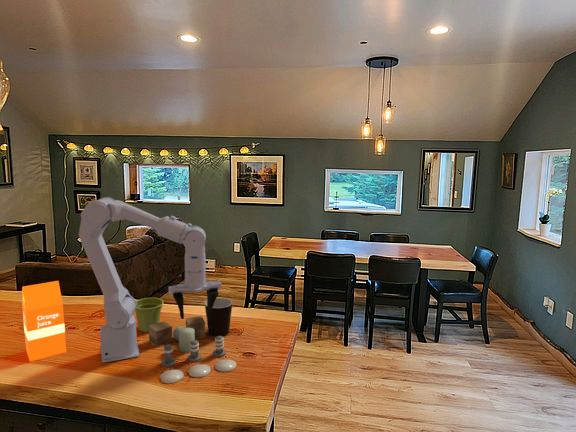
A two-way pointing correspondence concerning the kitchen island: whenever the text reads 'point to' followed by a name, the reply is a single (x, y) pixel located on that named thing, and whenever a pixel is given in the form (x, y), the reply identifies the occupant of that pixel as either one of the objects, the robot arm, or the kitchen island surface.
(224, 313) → the coffee mug
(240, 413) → the kitchen island surface
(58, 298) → the orange juice
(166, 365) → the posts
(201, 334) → the walnut block
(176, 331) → the grey ball
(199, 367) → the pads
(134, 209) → the robot arm
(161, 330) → the walnut block
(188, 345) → the pale green rounded cylinder
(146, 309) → the plant pot
